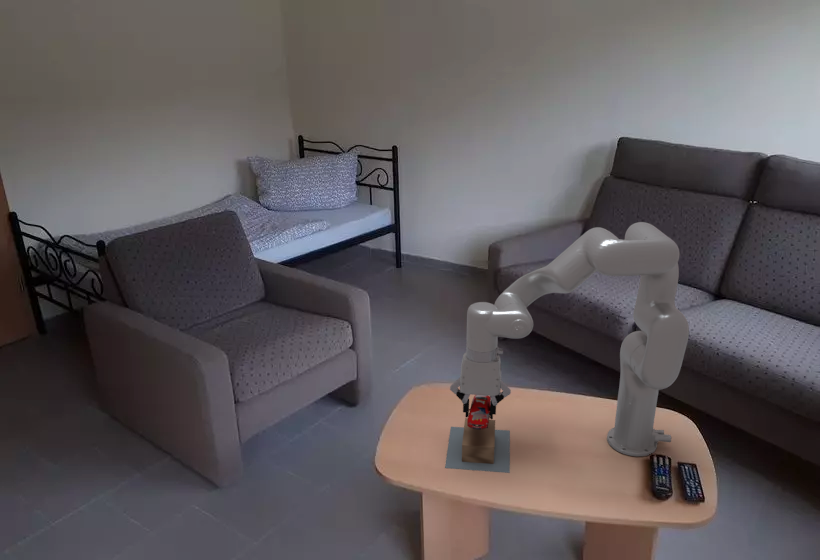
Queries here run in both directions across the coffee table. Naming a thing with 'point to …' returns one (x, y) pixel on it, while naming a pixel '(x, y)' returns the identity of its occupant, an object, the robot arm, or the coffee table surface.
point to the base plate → (499, 463)
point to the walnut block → (478, 444)
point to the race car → (479, 412)
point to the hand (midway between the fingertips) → (479, 414)
